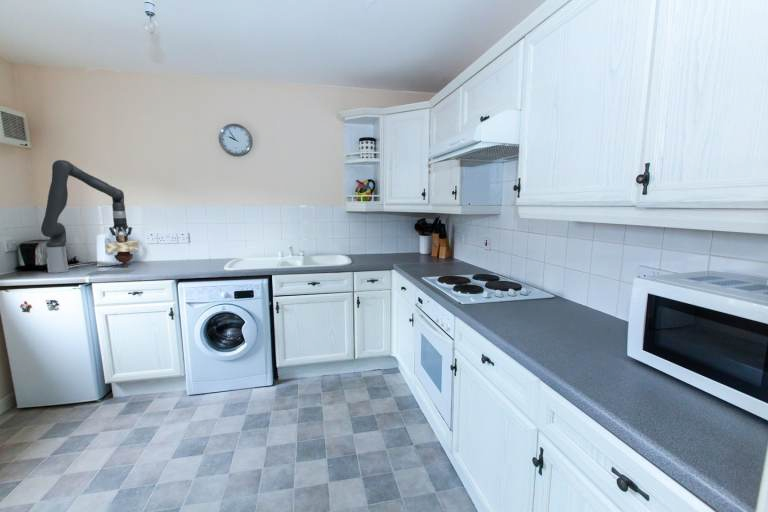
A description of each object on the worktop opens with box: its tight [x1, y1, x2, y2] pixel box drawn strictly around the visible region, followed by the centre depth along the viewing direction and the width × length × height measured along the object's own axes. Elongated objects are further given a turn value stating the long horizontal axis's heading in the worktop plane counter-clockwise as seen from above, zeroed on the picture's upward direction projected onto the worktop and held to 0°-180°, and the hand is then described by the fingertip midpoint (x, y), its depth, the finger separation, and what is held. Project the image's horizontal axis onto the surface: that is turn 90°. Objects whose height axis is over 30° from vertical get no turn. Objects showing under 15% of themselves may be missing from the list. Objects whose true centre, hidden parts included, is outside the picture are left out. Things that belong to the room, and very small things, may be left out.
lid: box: [104, 234, 139, 253], centre depth 248 cm, size 15×15×11 cm
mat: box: [85, 268, 137, 276], centre depth 233 cm, size 24×15×1 cm, turn 107°
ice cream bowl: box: [114, 251, 134, 269], centre depth 250 cm, size 11×11×15 cm
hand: (122, 241), depth 248 cm, fingers closed on lid, 4 cm apart
